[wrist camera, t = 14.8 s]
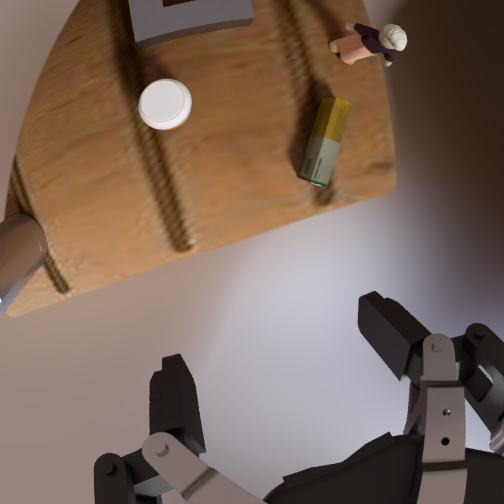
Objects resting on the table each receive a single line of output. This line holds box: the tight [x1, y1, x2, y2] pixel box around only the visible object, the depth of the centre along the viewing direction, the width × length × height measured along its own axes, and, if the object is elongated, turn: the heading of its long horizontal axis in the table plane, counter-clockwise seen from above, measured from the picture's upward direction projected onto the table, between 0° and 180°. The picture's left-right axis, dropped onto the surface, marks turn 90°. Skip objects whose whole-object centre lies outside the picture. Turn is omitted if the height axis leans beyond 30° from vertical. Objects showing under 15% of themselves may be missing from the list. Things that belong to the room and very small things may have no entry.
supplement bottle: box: [138, 79, 192, 130], centre depth 26 cm, size 5×5×10 cm
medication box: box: [298, 97, 351, 188], centre depth 34 cm, size 12×3×4 cm, turn 163°
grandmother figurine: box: [329, 23, 407, 66], centre depth 25 cm, size 8×4×13 cm, turn 66°
